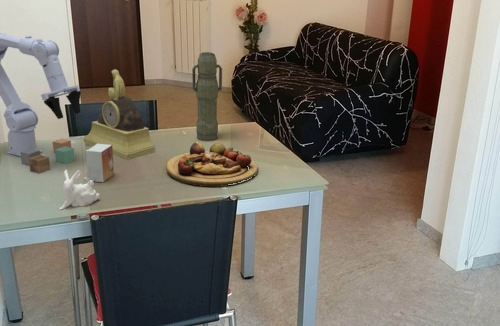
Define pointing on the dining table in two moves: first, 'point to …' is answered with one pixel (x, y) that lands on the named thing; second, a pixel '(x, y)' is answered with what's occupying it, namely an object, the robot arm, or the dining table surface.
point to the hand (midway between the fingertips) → (69, 115)
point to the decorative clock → (120, 125)
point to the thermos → (207, 96)
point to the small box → (100, 162)
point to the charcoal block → (28, 155)
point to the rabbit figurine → (78, 191)
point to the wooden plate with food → (211, 166)
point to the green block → (64, 154)
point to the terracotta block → (61, 144)
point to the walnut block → (39, 164)
